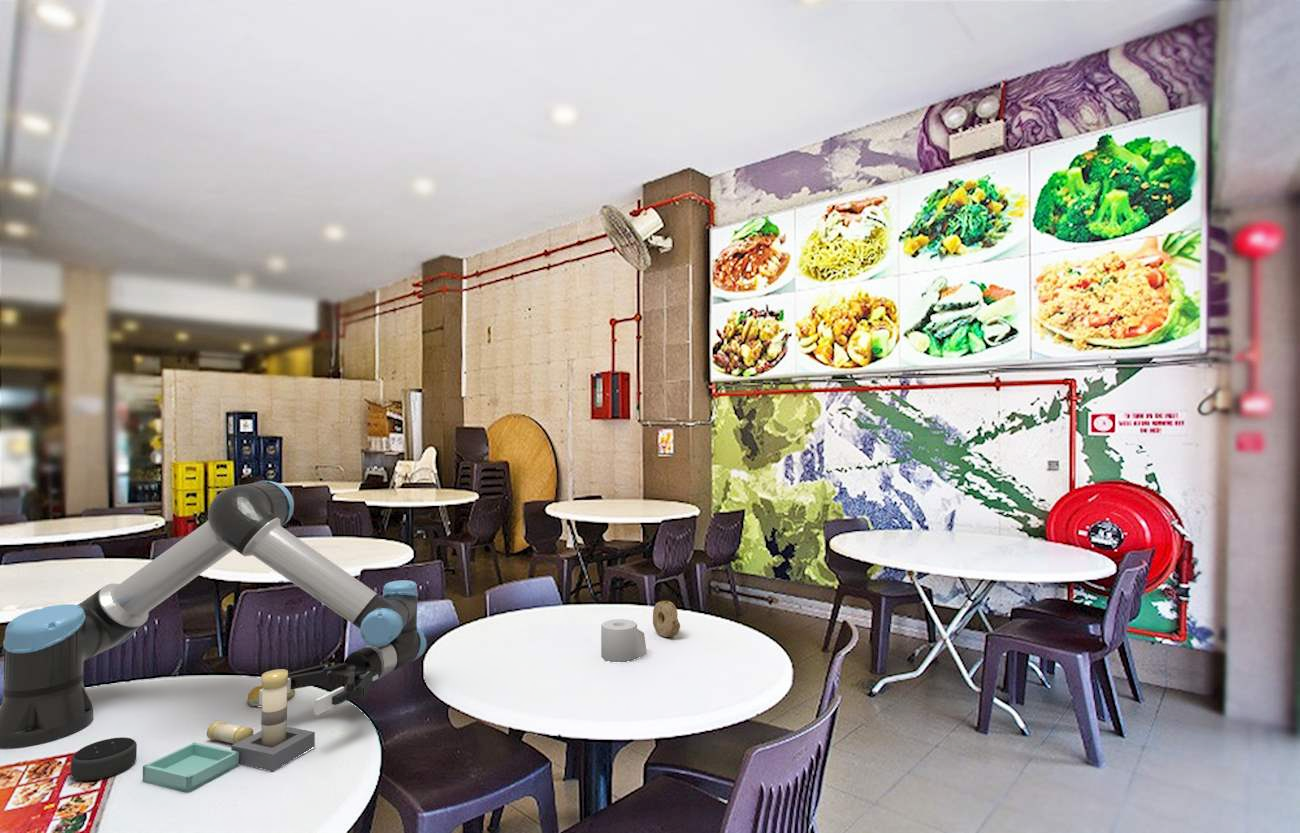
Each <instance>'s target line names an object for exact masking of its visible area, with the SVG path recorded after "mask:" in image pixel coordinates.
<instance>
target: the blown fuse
mask: <svg viewBox="0 0 1300 833" xmlns="http://www.w3.org/2000/svg"><path fill="white" fill-rule="evenodd" d="M288 673H289V671H288V670H287V669H284V668H282V669H281V668H279V669H273V670H269V671H266V672H264V673H262V674H261V685H262V707H261V719H260V720H261V721H260V722H261V723H260V724H261V731H262V734H261V745H262V746H266V747H271V748H273V747H275V746H276V745H278V744H280V743H282V742H284V741H286V726H287V724H288V723H287V720H288V700H287V683H288ZM287 727H288V726H287Z"/></svg>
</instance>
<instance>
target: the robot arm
mask: <svg viewBox="0 0 1300 833" xmlns="http://www.w3.org/2000/svg"><path fill="white" fill-rule="evenodd" d="M294 508H295V502H294V498H293V495H292V494H291V492H290V491H289V489H288V488H286V487H285V486H284V485H283V484H282V483H279V482H277V481H272V480H259V481H255V482H252V483H246V484H239V485H233V486H231V487H228V488H226V489H223V490H222V491H221V492H219V493H218V494H216V496H215V497H214V498H213V499H212V501H211V503H210V504H209V507H208V510H207V511H208V512H207V519H208V520H207V521H205V522H203V524H202V525H199V527H197V528H196V529H195V530H193V531H191V532H190V533H189V534H187V535H186V536H184V537H183V538H182V539H181V540H178V541H177V543H175V544H174V545H172V546H171V547H169V548H168V549H166V550H165V551H163V553H161V554H159V555H158V556H157V557H156V558H154V559H153V560H151V561H150V562H148V563H147V564H146V565H144V566H143V567H142V568H140V569H139V570H137V571H136V572H134V573H133V574H132V575H130V576H129V577H127V578H126V579H125V580H123V581H122V582H121V583H109V584H106V585H104V586H102V587H101V588H100V589H99V590H97V591H95V592H94V593H93V594H91V595H90V596H88V597H87V598H85V599H84V600H83V601H82V602H80V603H78V604H74V603H73V604H71V603H70V604H69V603H67V604H65V603H64V604H55V605H49V606H44V607H42V608H36V609H33V610H30V611H27V612H24V613H22V614H20V615H18V616H16V617H15V618H13V619H12V620H11V621H10V622H8V624H7V626H6V627H5V632H4V638H3V643H2V645H3V695H2V696H3V698H2V701H1V704H0V748H3V749H4V748H5V749H6V748H7V749H11V748H12V749H13V748H20V747H28V746H33V745H34V746H35V745H39V744H44V743H47V742H51V741H54V740H58V739H61V738H64V737H67V736H69V735H71V734H74V733H76V732H79V731H80V730H82V729H85V728H86V727H87V726H89V725H90V724H92V722H93V720H94V706H93V704H92V701H91V699H90V696H89V694H88V692H87V690H86V688H85V686H84V662H85V661H87V660H88V659H90V658H93V657H95V656H97V655H99V654H102V653H103V652H106V651H108V650H111V649H113V648H115V647H118V646H119V645H121V644H123V643H125V642H126V641H127V640H129V638H132V636H133V635H134V634H135V633H136V632H137V630H138V629H139V628H140V627H141V626H143V625H144V624H145V623H147V621H148V620H149V619H148V618H149V617H150V616H149V615H150V614H149V612H150V611H152V610H153V609H154V608H156V607H157V606H158V605H161V603H162V602H164V601H166V600H167V599H168V598H170V597H171V596H172V595H174V594H175V593H177V591H179V590H180V589H182V588H183V587H184V586H186V585H188V584H189V583H190V582H191V581H193V580H194V579H195V578H197V577H198V576H200V575H202V574H203V573H204V572H205V571H207V570H208V569H210V568H211V567H212V566H214V565H215V564H217V563H218V562H219V561H221V560H222V559H223V558H224V557H226V556H227V555H229V554H230V553H231V552H233V551H236V552H237V553H239V554H240V555H241V556H243V557H250V556H253V557H254V558H256V559H257V560H259V561H260V562H262V563H263V564H265V565H266V566H268V568H270V569H272V570H273V571H274V572H276V573H278V574H279V575H281V576H282V577H283V578H285V579H286V580H288V581H289V582H291V583H292V584H294V585H296V587H298V588H300V589H301V590H303V591H304V592H306V593H307V594H308V595H310V596H311V597H313V598H314V599H316V600H317V601H319V602H320V603H321V604H323V605H324V606H326V607H327V608H329V609H330V610H332V611H333V612H334V613H336V614H338V615H339V616H340V617H341V618H343V619H345V620H346V621H348V622H350V623H351V624H352V625H354V626H355V627H356V628H358V629H359V633H360V636H361V638H362V641H364V642H365V643H366V646H364V647H363V648H360V649H356V650H355V651H353V652H350V653H349V654H348V655H347V657H346V658H345V660H344V661H343V663H337V664H336V665H332V662H330V661H328V662H326V663H322V664H318V665H315V666H311V667H308V668H304V669H303V668H302V669H298V670H295V671H291V672H288V683H287V694H288V693H289V692H291V689H295V690H296V689H302V688H307V687H308V688H309V687H313V686H317V685H323V686H331V685H341V686H340V687H337V688H336V689H334V690H331V691H329V692H328V693H326V694H324V695H322V696H320V697H317V698H316V699H314V715H316V716H319V715H321V714H323V713H324V712H327V711H329V710H331V709H332V708H335V707H336V706H339V705H340V704H342V703H344V702H346V701H347V702H348V701H349V702H351V701H352V700H353V699H355V700H356V701H357V702H358V701H362V700H363V699H364V698H365V697H366V695H367V694H368V692H369V691H370V690H371V688H372V687H373V686H374V685H376V684H377V683H379V680H380V679H381V678H382V677H385V676H386V675H387V674H390V673H392V672H394V671H396V670H398V669H400V668H402V667H404V666H407V665H410V664H411V663H412V662H414V661H415V660H417V659H418V658H420V657H421V656H422V655H423V654H424V653H425V650H426V649H427V638H426V637H425V634H424V632H423V630H421V629H420V628H418V598H419V594H418V585H417V583H416V582H415V581H413V580H406V579H405V580H403V579H402V580H394V581H390V582H387V583H386V584H385V585H383V591H382V595H379V594H378V593H377V592H376V591H374V590H373V589H371V588H370V587H368V586H367V585H365V583H363V582H361V581H360V580H359V579H357V578H355V577H354V576H352V575H351V574H350V573H348V572H347V571H345V570H344V569H343V568H341V567H340V566H339V565H337V564H335V563H334V562H333V561H331V560H330V559H328V557H326V556H324V555H322V554H321V553H320V552H319V551H317V550H315V549H314V548H313V547H311V546H309V544H307V543H306V542H304V541H302V540H301V539H300V538H298V537H297V536H296V535H294V534H293V533H292V532H290V531H288V530H287V529H285V528H284V527H283V526H284V525H286V524H287V523H288V522H289V521H290V520H291V518H292V516H293V514H294ZM328 677H329V680H328ZM344 685H345V686H344ZM259 705H262V689H261V690H259Z"/></svg>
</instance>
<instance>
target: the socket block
mask: <svg viewBox="0 0 1300 833" xmlns="http://www.w3.org/2000/svg"><path fill="white" fill-rule="evenodd" d="M261 734H262V730H260V731H258V732H256V733H254V734H253V735H252V736H250V737H248V738H246V739H244V740H241V741H239V742H237V743H235V744H233V743H232V745H231V746H230V747H231V748H230V750H233V751H237V752H239V765H242V766H245V765H246V767H250V766H253V767H252V768H254V767H257V768H256V769H258V768H262V769H261V770H263V769H266V770H265V771H267V770H270V771H269V772H272V771H274V770H275V771H277V770H279V769H280V767H281V766H282V765H284V764H286V763H287V764H289V763H290V762H289V761H291V760H293V759H294V758H296V757H298V756H299V755H301V754H303V753H304V752H306V751H308V750H309V749H311V748H312V747H314V746H316V745H315V743H316V742H315V740H316V739H315V738H316V737H315V735H316V732H315V731H314V730H313V731H312V730H307V729H301V728H296V727H292V726H286V741H284V742H282V743H280V744H278V745H276V746H275V747H273V748H271V747H266V746H262V745H261ZM308 752H309V751H308ZM303 755H304V754H303ZM301 756H302V755H301ZM298 758H299V757H298ZM296 759H297V758H296ZM294 760H295V759H294ZM294 760H293V761H294ZM288 762H289V763H288ZM291 762H292V761H291ZM287 764H286V765H287ZM284 766H285V765H284ZM282 767H283V766H282ZM282 767H281V768H282ZM278 768H279V769H278ZM276 769H277V770H276ZM275 771H274V772H275Z"/></svg>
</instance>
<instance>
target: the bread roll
mask: <svg viewBox="0 0 1300 833" xmlns="http://www.w3.org/2000/svg"><path fill="white" fill-rule="evenodd" d="M261 689H262V684H261V685H257V686H255V687H254V688H252V690H250V691H249V693H248V695H247V698H246V700H247V703H248V704H249V706H250V705H251V707H253V706H262V705H259V690H261ZM295 693H296V689H291V692H289V693H288V694H287V701H288V700H290V699H291V698H293V696H295Z"/></svg>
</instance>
